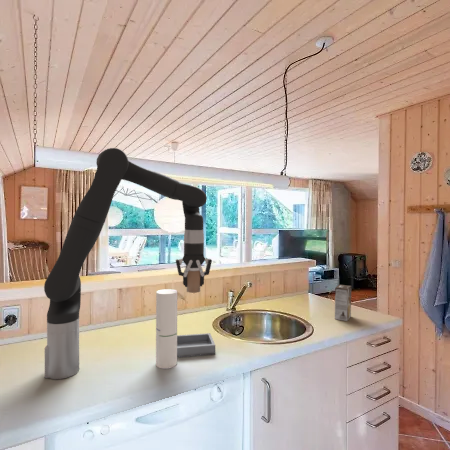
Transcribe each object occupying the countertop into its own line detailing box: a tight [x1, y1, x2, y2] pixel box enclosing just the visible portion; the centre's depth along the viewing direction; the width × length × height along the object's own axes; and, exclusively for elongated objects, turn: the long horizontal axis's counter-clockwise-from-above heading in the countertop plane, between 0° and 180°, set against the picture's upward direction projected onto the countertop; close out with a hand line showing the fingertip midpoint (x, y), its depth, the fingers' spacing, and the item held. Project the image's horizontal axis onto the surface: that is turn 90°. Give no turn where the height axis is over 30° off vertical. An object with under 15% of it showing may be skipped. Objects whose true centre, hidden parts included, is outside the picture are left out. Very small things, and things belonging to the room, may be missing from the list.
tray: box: [177, 332, 216, 359], centre depth 119 cm, size 15×12×4 cm
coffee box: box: [334, 284, 352, 322], centre depth 159 cm, size 9×6×16 cm
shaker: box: [186, 268, 201, 294], centre depth 118 cm, size 5×5×9 cm
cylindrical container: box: [155, 288, 178, 369], centre depth 107 cm, size 7×7×25 cm
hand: (193, 286), depth 119 cm, fingers closed on shaker, 5 cm apart
